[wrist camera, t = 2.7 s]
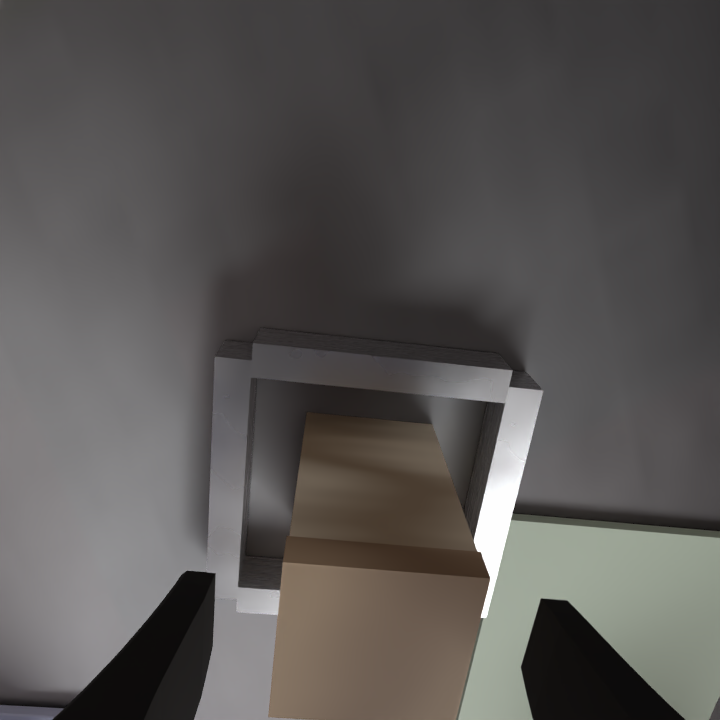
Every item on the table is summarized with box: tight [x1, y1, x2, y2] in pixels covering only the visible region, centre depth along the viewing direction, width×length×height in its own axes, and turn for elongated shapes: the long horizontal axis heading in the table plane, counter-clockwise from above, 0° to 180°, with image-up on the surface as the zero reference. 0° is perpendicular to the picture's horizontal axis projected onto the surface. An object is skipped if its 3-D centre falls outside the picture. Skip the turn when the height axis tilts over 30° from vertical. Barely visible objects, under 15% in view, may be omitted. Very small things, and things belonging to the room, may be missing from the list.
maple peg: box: [268, 412, 491, 720], centre depth 15 cm, size 4×4×7 cm
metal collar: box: [207, 328, 543, 618], centre depth 17 cm, size 9×9×2 cm
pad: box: [456, 513, 720, 720], centre depth 20 cm, size 10×10×1 cm
